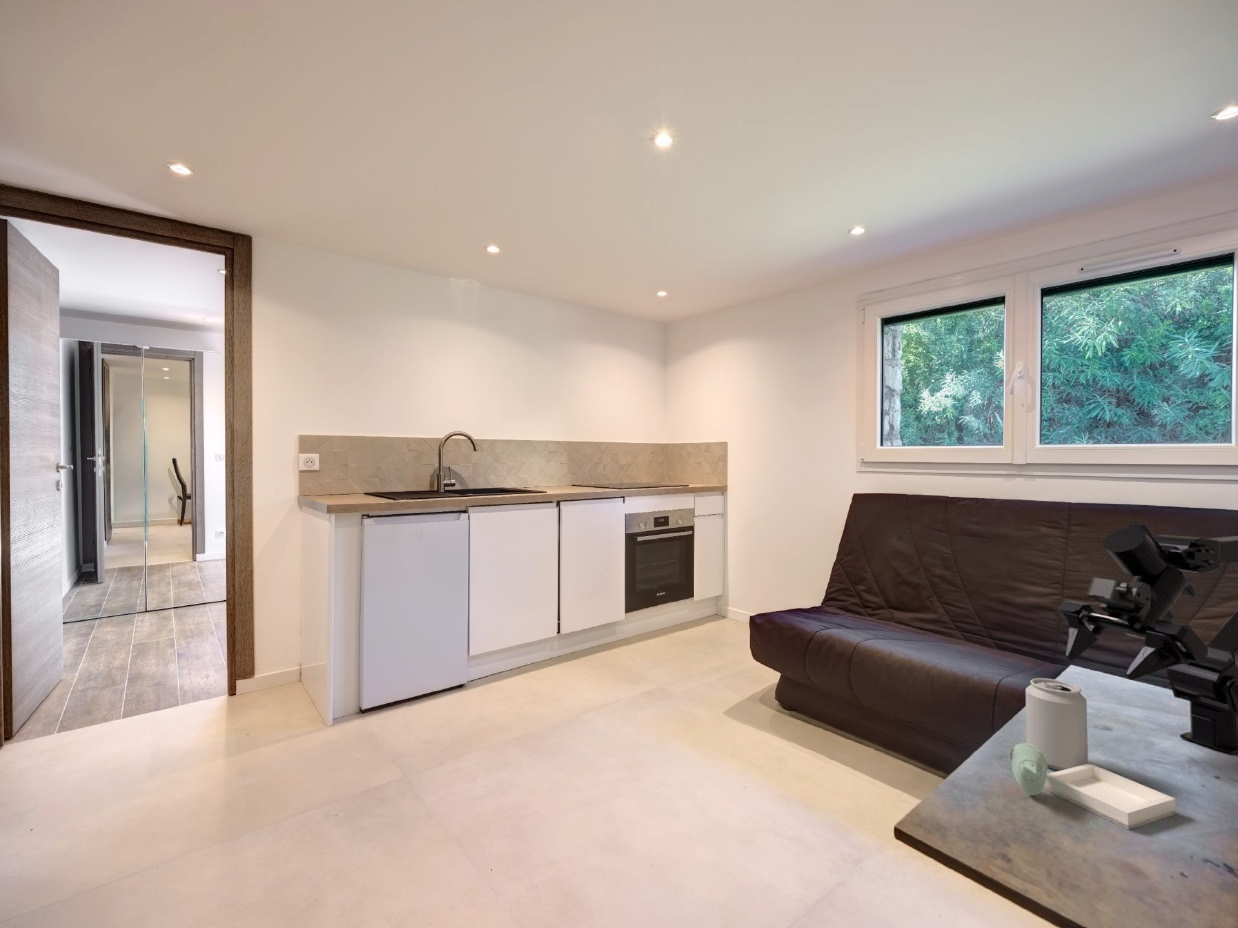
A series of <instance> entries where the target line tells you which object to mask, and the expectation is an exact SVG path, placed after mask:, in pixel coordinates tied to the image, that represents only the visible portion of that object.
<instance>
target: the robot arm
mask: <svg viewBox="0 0 1238 928" xmlns="http://www.w3.org/2000/svg"><path fill="white" fill-rule="evenodd" d="M1102 546H1103V547H1104V549H1105V550H1106V551H1107V552H1108V554H1109V555H1110V556H1111V557H1112V559H1113V560H1114V561H1115V563H1116V564H1117V565H1118V566H1119V567H1120V568H1121V569H1122V571H1123V572H1124V573H1125V574H1127V575H1130V576H1132V577H1134V578H1133V580H1130V581H1129V582H1128V583H1127V582H1121V581H1119V580H1112V579H1106V578H1099V577H1095V576H1094V577H1092V578H1091V581H1090V583H1089V586H1088V589H1087V592H1086V597H1088V598H1092V599H1094V600H1095V601H1098V602H1100V605H1099V607H1100V609H1101V610H1102V611H1103V612H1105V613H1107V615H1104V614H1103V615H1102V614H1099V613H1097V612H1096V611H1095V610H1094V608H1092V606H1091V605H1090V604H1089V603H1084V602H1080V601H1079V602H1078V601H1073V600H1063V601H1062V602H1061V603H1060V605H1059V606H1058V607H1057V608H1056V611H1057V612H1058V613H1059V615H1060V616H1061V617H1062V619H1064V621H1065V622H1066V623H1067V624H1068V638H1067V639H1068V640H1067V645H1066V651H1065V655H1064V656H1065V659H1067V661H1069V662H1072V661H1073V660H1075V659H1077V658H1078V657H1079V656H1081V655H1082V654H1083V653H1084V652H1086V651H1087V650H1088V649H1089V648H1090V647H1091V646H1092V645H1094V644H1095V643H1096V642H1097V641H1099V639H1098V638H1097V636H1099V635H1101V634H1102V632H1104V630H1109V631H1113V632H1118V633H1121V634H1122V633H1123V634H1126V635H1128V636H1132V637H1136V638H1139V639H1144V645H1143V647H1142V648H1141V650H1140V651H1139V653H1137V656H1136V657H1135V659H1134V660H1133V661H1132V662H1131V664H1130V665H1129V666H1128V669H1127V670H1126V673H1125V676H1126V678H1127V679H1128V680H1130V681H1134V680H1137V679H1139V678H1142V677H1145V676H1147V675H1149V674H1152V673H1153V674H1154V673H1155V672H1157V671H1161V670H1164V669H1166V674H1167V678H1168V681H1169V682H1168V683H1169V685H1170V688H1171V690H1172V693H1173V696H1174V698H1177V699H1181V700H1185V701H1188V702H1189V711H1190V712H1189V714H1190V715H1189V716H1190V717H1189V718H1190V719H1189V720H1190V723H1189V724H1190V731H1187V732H1183V733H1180V734H1179V737H1180V738H1181V739H1183V740H1186V741H1190V742H1193V743H1196V744H1199V745H1202V746H1205V747H1208V748H1211V749H1214V750H1216V751H1220V752H1222V753H1226V754H1228V755H1234V754H1238V609H1236V611H1235V613H1234V614H1232V616H1231V617H1230V618H1229V619H1228V620H1226V621H1227V622H1225V624H1224V625H1223V626H1222V627H1221V628H1220V630H1218V632H1217V633H1216V634H1215V635H1214V636H1213V637H1212V639H1210V641H1209V642H1208V643H1207V644H1205V642H1204V641H1203V640H1202V639H1201V638H1200V637H1199V635H1198V633H1196V631H1195V630H1194V629H1193V628H1192V627H1191V625H1189V624H1185V623H1181V622H1176V621H1172V619H1173V618H1174V614H1173V613H1172V612H1171V609H1172V607H1173V606H1174V604H1175V603H1176V602H1177V600H1178V599H1179V597H1180V596H1181V595H1183V596H1190V597H1194V596H1195V595H1196V592H1195V591H1196V590H1195V588H1194V587H1193V585H1192V582H1191V581H1192V580H1191V579H1190V578H1187V577H1186V575H1185V574H1184V573H1183V572H1189V573H1196V574H1207V573H1208V574H1209V573H1210V572H1213V571H1216V570H1219V569H1220V568H1222V564H1225V563H1234V562H1235V563H1236V562H1238V535H1233V536H1221V537H1211V538H1210V537H1209V538H1205V537H1196V536H1195V537H1194V536H1193V537H1192V536H1182V535H1181V536H1180V535H1172V534H1171V535H1169V534H1158V535H1156V536H1153V535H1152V533H1151V532H1150V529H1149V528H1148V527H1147V525H1146V524H1145V523H1143V524H1141V523H1130V524H1129V525H1128V526H1127V527H1125V528H1121V529H1117V530H1116V531H1114V532H1111V534H1107V535H1106V536H1105V537H1104V539H1103V542H1102Z"/></svg>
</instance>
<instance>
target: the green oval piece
mask: <svg viewBox="0 0 1238 928" xmlns="http://www.w3.org/2000/svg"><path fill="white" fill-rule="evenodd" d="M1009 755H1010V765H1011V769H1012V773H1013V774H1014V775H1013V776H1014V777H1015V779H1016V781H1017V783H1018V785H1019V786H1020V788H1021V789H1022V790H1023V791H1024V792H1025V793H1026V794H1027V795H1029V796H1032V797H1033V796H1035V797H1036V796H1037V795H1038V794H1039V795H1040V793H1041V792H1042V791H1043V790H1044V788H1045V781H1046V775H1047V774H1048V767H1047V761H1046V759H1045V753H1043V752H1041V751H1039V750H1038V749H1037V748H1035V747H1034V746H1032V745H1031V744H1027V742H1020V743H1016V744H1015V745H1014V746H1013V747H1012V749H1011V751H1010V754H1009Z"/></svg>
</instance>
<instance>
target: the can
mask: <svg viewBox="0 0 1238 928" xmlns="http://www.w3.org/2000/svg"><path fill="white" fill-rule="evenodd" d="M1030 683H1031V684H1029V686H1027V687H1026V688H1025V721H1026V722H1025V724H1026V725H1025V727H1026V730H1025V732H1026V734H1025V737H1026V743H1027V744H1031V745H1032V746H1034V747H1035V748H1037V749H1038V750H1039V751H1041V752H1043V753H1045V759H1046V761H1047V768H1048V769H1051V768H1052V770H1055V771H1061V770H1065V769H1069V768H1073V767H1077V766H1081V765H1085V764H1089V753H1088V752H1089V748H1088V746H1089V745H1088V744H1089V743H1088V709H1087V707H1088V706H1087V704H1088V703H1087V699H1086V697H1085V696H1084V695H1082V693H1081V692H1082V688H1080V687H1079V686H1078V685H1075V684H1073V683H1069V682H1067V681H1063V680H1059V679H1053V678H1045V677H1037V678H1036V677H1035V678H1033V679H1031V680H1030Z"/></svg>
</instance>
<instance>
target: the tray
mask: <svg viewBox="0 0 1238 928" xmlns="http://www.w3.org/2000/svg"><path fill="white" fill-rule="evenodd" d="M1044 790H1045V791H1047V790H1048V792H1049V791H1050V793H1051V792H1053V793H1054V795H1055V794H1056V796H1057V795H1058V797H1060V796H1061V797H1060V798H1061V799H1064V800H1066V799H1067V800H1066V801H1068V802H1070V801H1071V802H1070V803H1073V804H1074V805H1076V806H1079V807H1080V806H1081V808H1082V809H1084V810H1086V811H1088V812H1091V813H1092V814H1095V815H1097V816H1099V817H1100V818H1103V819H1105V820H1107V821H1110V822H1111V823H1114V824H1115V825H1118V826H1120V827H1122V828H1124V829H1126V830H1132V829H1134V828H1137V827H1141V826H1144V825H1146V824H1151V823H1154V822H1156V821H1159V820H1162V819H1165V818H1169V817H1171V816H1175V815H1176V798H1175V797H1172V796H1169V795H1168V794H1165V793H1163V792H1160V791H1159V790H1155V789H1152V788H1150V787H1148V786H1146V785H1143V784H1140V783H1138V782H1136V781H1134V780H1132V779H1129V778H1127V777H1124V776H1122V775H1119V774H1116V773H1114V772H1112V771H1109V770H1107V769H1105V768H1102V767H1100V766H1097V765H1095V764H1093V763H1089V762H1088V764H1085V765H1081V766H1077V767H1073V768H1069V769H1065V770H1061V771H1059V770H1056V771H1054V772H1049V773H1047V775H1046V781H1045V784H1044ZM1053 793H1052V794H1053Z"/></svg>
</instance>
